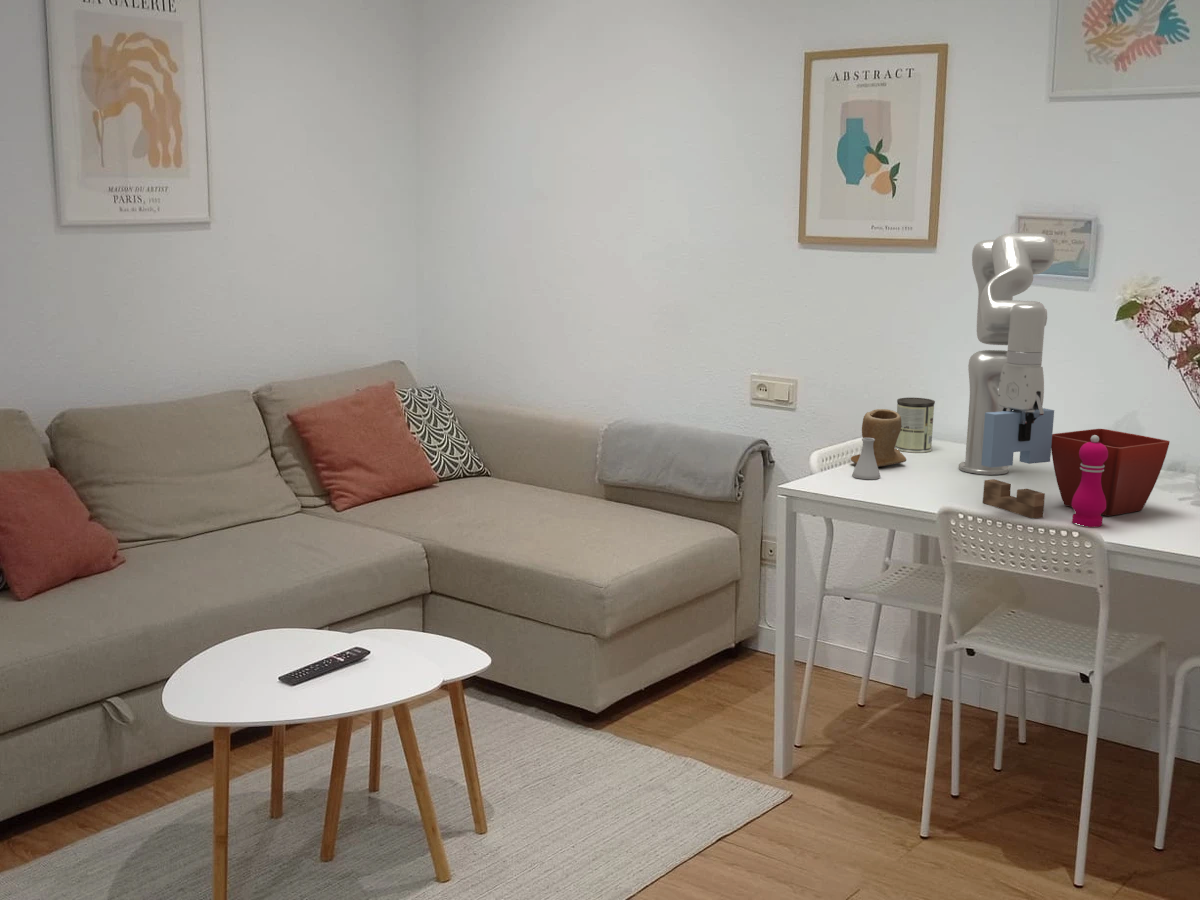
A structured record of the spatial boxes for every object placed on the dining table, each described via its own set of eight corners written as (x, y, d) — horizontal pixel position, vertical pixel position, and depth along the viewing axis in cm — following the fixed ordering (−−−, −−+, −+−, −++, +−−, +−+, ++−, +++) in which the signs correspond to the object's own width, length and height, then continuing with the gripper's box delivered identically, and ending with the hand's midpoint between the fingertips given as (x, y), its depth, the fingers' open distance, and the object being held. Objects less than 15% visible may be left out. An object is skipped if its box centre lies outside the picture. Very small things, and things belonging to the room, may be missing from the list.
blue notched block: (990, 467, 294) (994, 414, 292) (981, 465, 296) (985, 412, 294) (1050, 461, 302) (1054, 410, 300) (1040, 459, 304) (1044, 408, 302)
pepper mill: (1064, 519, 294) (1072, 432, 290) (1095, 519, 294) (1103, 432, 290) (1078, 528, 287) (1086, 438, 283) (1110, 527, 287) (1118, 438, 283)
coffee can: (892, 445, 376) (895, 396, 374) (928, 446, 375) (931, 397, 373) (896, 452, 366) (899, 402, 363) (934, 453, 365) (937, 403, 363)
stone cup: (873, 472, 340) (877, 415, 337) (844, 463, 350) (847, 408, 347) (918, 467, 347) (921, 411, 344) (888, 459, 357) (891, 404, 354)
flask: (880, 481, 330) (882, 442, 328) (851, 479, 331) (853, 440, 329) (880, 475, 337) (882, 436, 335) (852, 473, 338) (854, 435, 336)
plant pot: (1094, 495, 318) (1100, 427, 315) (1164, 512, 302) (1172, 440, 299) (1042, 504, 308) (1047, 434, 304) (1111, 522, 292) (1119, 448, 289)
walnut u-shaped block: (982, 503, 308) (984, 480, 307) (992, 501, 309) (994, 479, 308) (1033, 518, 294) (1035, 494, 293) (1042, 517, 295) (1044, 493, 294)
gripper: (985, 355, 300) (980, 434, 304) (1039, 363, 286) (1032, 446, 289) (1010, 354, 304) (1004, 432, 307) (1064, 362, 289) (1057, 444, 293)
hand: (1018, 438), depth 298 cm, fingers closed on blue notched block, 3 cm apart
